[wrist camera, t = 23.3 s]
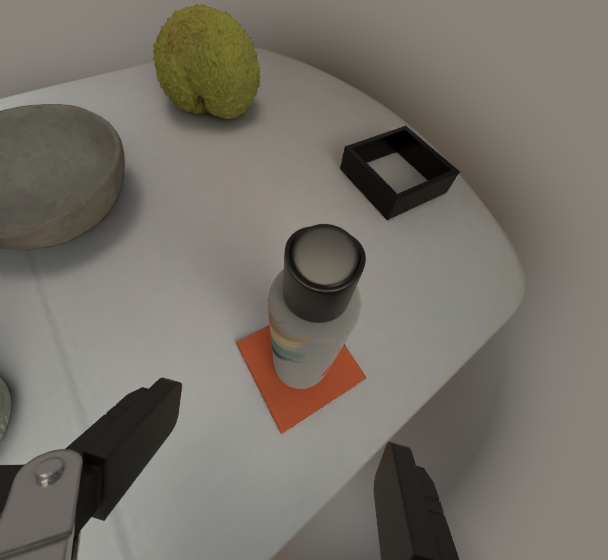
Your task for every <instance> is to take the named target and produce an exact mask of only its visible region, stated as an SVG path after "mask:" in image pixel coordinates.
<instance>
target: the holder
mask: <svg viewBox="0 0 608 560" xmlns="http://www.w3.org/2000/svg"><path fill="white" fill-rule="evenodd" d="M396 151H397V152H398V153H399V154H400V155H401V156H402V157H403V158H404V159H405V160H406V161H408V162H409V163H410V164H411V165H412V166H413V167H414V168H415V169H416V170H417V171H418V172H419V173H421V174H422V175H423V176H424V177H425V178H426V179H427V180H428V181H426V182H424V183H421V184H419V185H417V186H414V187H412V188H410V189H408V190H405V191H403V192H401V193H398V194H397V193H396V192H395V191H394V190H393V189H392V188H391V187H390V186H389V185H388V184H387V183H386V182H385V181H384V180H383V179H382V178H381V177H380V176H379V175H378V174H377V173H376V172H375V171H374V170H373V169H372V168H371V167H370V166H369V165H368V164H367V162H370V161H373V160H375V159H378V158H381V157H383V156H386V155H389V154H391V153H394V152H396ZM340 169H341V170H342V171H343V172H344V174H345V175H346V176H347V177H348V178H349V179H350V180H351V181H352V182H353V183H354V184H355V185H356V187H357V188H358V189H359V190H360V191H361V192H362V193H363V194H364V195H365V196H366V197H367V198H368V200H369V201H370V202H371V203H372V204H373V205H374V206H375V207H376V208H377V209H378V210H379V212H380V213H381V214H382V215H383V216H384V217H385V218H386V219H387V220H388V219H390V218H392V217H395V216H397V215H399V214H401V213H403V212H405V211H408V210H410V209H412V208H414V207H416V206H418V205H421V204H423V203H425V202H427V201H429V200H431V199H434V198H436V197H438V196H440V195H442V194H444V193H446V192H447V191H448V189H449V188H450V186H451V185H452V183H453V182H454V180H455V179H456V177H457V175H458V174H459V171H458V170H457V169H456V168H455V167H454V166H453V165H451V164H450V163H449V162H448V161H447V160H446V159H444V158H443V157H442V156H441V155H440V154H438V153H437V152H436V151H435V150H434V149H433V148H431V147H430V146H429V145H428V144H427V143H426V142H424V141H423V140H422V139H421V138H420V137H418V136H417V135H416V134H415V133H414V132H413V131H411V130H410V129H409V128H408V127H407V126H403V127H401V128H398V129H395V130H392V131H389V132H386V133H383V134H380V135H377V136H374V137H372V138H369V139H366V140H363V141H360V142H357V143H354V144H351V145H348V146H345V148H344V153H343V158H342V162H341V167H340Z"/></svg>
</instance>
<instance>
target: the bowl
mask: <svg viewBox="0 0 608 560" xmlns="http://www.w3.org/2000/svg"><path fill="white" fill-rule="evenodd" d="M123 178H124V151H123V146H122V142H121V139H120V137H119V135H118V133H117V132H116V130H115V129H114V128H113V126H112V125H111V124H110V123H109V122H107V121H106V120H105V119H103V118H102V117H100V116H98V115H96V114H94V113H92V112H90V111H88V110H86V109H83V108H80V107H77V106H71V105H62V104H41V105H29V106H21V107H16V108H11V109H6V110H3V111H0V249H9V250H24V249H37V248H45V247H50V246H54V245H58V244H61V243H64V242H67V241H69V240H71V239H74V238H75V237H77V236H79V235H80V234H82V233H84V232H85V231H87V230H89V229H90V228H92V227H94V226H95V225H96V224H97V223H98V222H100V221H101V220H102V219H103V218H104V217H105V216H106V215H107V213H108V212H109V211H110V209H111V208H112V206H113V204H114V203H115V201H116V199H117V197H118V195H119V192H120V190H121V187H122V183H123Z"/></svg>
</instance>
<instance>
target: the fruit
mask: <svg viewBox="0 0 608 560" xmlns="http://www.w3.org/2000/svg"><path fill="white" fill-rule="evenodd" d="M161 28H162V29H161V30H160V33H159V35H158V37H157V40H156V43H154V45H153V46H154V50H153V52H154V58H153V60H154V61H155V67H156V70H157V78H158V82H160V85H161V88H163V90H164V92H165V94H166V95H167V96H168V97H169V99H170V100H171V101H173V102H174V103H175V105H177V106H178V107H179V108H180V109H182V110H185V111H186V112H192V113H194V115H195V114H200V113H201V114H206V113H210V114H212V115H213V116H218V117H219V118H225V119H234V118H236V117H238V116H239V115H241V114H244V112H245V111H247V109H248V108H249V106H250V105H251V104H252V103H253V100H254V97H255V95H256V93H257V88H259V86H260V84H259V83H260V68H259V63H258V60H257V53H256V52H255V50H254V43H252V41H251V37H249V35H248V34H246V31H245V30H244V29H242V27H241V25H240V24H239V23H238V21H237V20H235V19H234V18H232V17H231V15H230V14H228V13H227V12H221V11H218V10H216V9H212V8H211V7H207V6H205V5H200V6H199V5H197V4H196V5H195V6H191V7H185V8H183V9H181V10H179V11H175V13H174V14H172V17H170V18H168V19H167V22H166V23H165V25H164V26H162V27H161Z"/></svg>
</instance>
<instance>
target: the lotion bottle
mask: <svg viewBox="0 0 608 560" xmlns="http://www.w3.org/2000/svg"><path fill="white" fill-rule="evenodd" d="M365 261H366V257H365V252H364V249H363V247H362V245H361V244H360V243H359V241H358V240H357V239H355V238H354V237H353V236H351V235H350V234H349V233H348V232H346V231H345V230H343V229H342V228H340V227H337V226H334V225H330V224H318V225H314V226H311V227H305V228H302V229H300V230H298V231H296V232H295V233H293V234H292V235H291V236H290V238H289V239H288V241H287V243H286V247H285V253H284V269H283V270H282V271H281V272H280V273H279V274H278V275H277V277H276V278H275V279H274V281H273V283H272V285H271V288H270V292H269V298H268V308H269V320H270V332H271V343H272V354H273V363H274V368H275V371H276V373H277V375H278V377H279V378H280V379H281V381H283V382H284V383H285V384H286V385H288V386H290V387H292V388H296V389H306V388H310V387H312V386H314V385H316V384H317V383H319V382H320V381H321V380H322V378H323V377H324V376H325V374H326V373H327V371H328V370H329V368H330V366H331V365H332V363H333V361H334V360H335V358H336V356H337V355H338V353H339V351H340V350H341V348H342V347H343V345H344V343H345V342H346V340H347V338H348V337H349V335H350V333H351V332H352V330H353V328H354V326H355V324H356V322H357V320H358V318H359V314H360V309H361V298H360V293H359V290H358V287H357V284H358V281H359V279H360V277H361V275H362V272H363V270H364V267H365Z"/></svg>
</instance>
